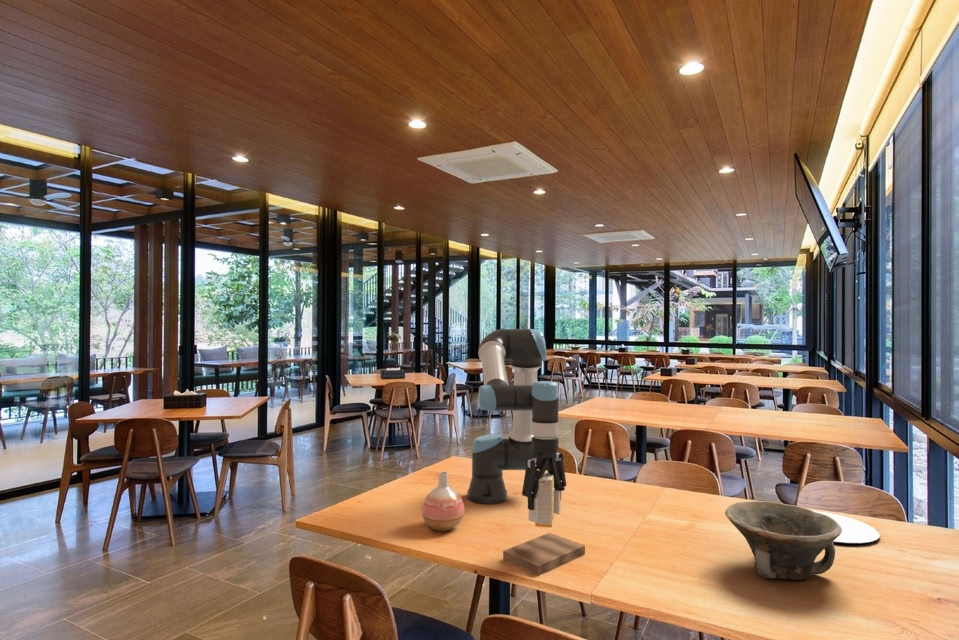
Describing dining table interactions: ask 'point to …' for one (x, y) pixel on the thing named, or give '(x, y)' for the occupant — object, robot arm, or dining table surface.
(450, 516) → the vase
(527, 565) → the walnut board
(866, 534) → the plate
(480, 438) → the robot arm
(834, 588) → the dining table surface
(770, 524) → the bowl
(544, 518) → the supplement box
